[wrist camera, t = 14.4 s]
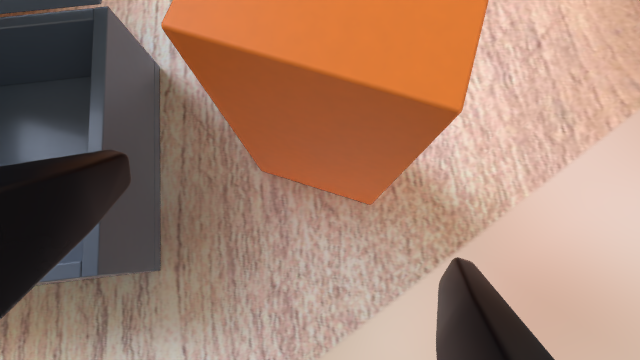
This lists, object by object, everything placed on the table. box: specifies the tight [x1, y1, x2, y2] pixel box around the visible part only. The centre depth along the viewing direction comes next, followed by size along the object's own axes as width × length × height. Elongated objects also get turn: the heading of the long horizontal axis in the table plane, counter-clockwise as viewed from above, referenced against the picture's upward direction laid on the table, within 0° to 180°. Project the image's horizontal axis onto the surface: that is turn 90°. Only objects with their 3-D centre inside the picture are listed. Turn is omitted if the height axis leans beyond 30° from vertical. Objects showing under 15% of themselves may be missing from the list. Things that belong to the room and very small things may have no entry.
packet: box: [161, 0, 488, 205], centre depth 12 cm, size 4×6×11 cm, turn 72°
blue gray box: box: [0, 7, 160, 285], centre depth 15 cm, size 11×11×5 cm
